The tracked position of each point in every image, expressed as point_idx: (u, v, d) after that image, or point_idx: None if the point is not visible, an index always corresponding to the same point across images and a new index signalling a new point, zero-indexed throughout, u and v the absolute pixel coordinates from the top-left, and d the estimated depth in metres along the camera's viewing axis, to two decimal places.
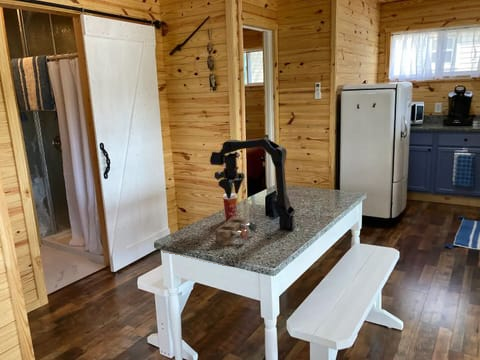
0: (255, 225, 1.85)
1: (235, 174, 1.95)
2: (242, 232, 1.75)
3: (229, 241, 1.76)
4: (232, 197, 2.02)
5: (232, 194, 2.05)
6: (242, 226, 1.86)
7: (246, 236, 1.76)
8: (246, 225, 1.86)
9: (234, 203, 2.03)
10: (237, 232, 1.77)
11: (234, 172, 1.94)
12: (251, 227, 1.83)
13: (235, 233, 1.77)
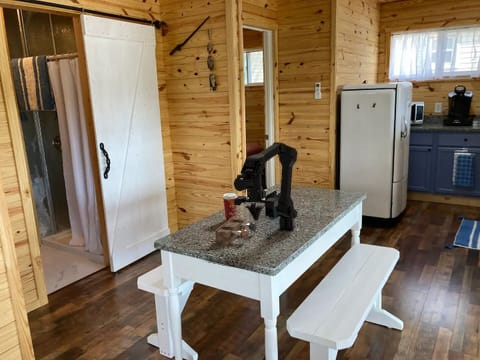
0: (255, 225, 1.85)
1: (250, 196, 1.68)
2: (242, 232, 1.75)
3: (229, 241, 1.76)
4: (232, 197, 2.02)
5: (232, 194, 2.05)
6: (242, 226, 1.86)
7: (246, 236, 1.76)
8: (246, 225, 1.86)
9: None
10: (237, 232, 1.77)
11: (249, 194, 1.68)
12: (251, 227, 1.83)
13: (235, 233, 1.77)
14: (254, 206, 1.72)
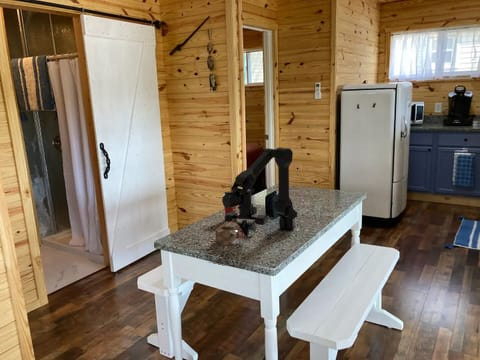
0: (255, 225, 1.85)
1: (241, 213, 1.72)
2: (239, 232, 1.76)
3: (229, 241, 1.76)
4: None
5: None
6: None
7: (243, 236, 1.77)
8: None
9: None
10: (234, 232, 1.78)
11: (240, 210, 1.72)
12: (251, 227, 1.83)
13: (232, 233, 1.78)
14: (245, 222, 1.75)
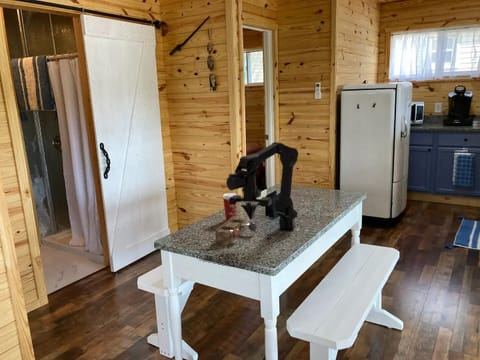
0: (255, 225, 1.85)
1: (245, 196, 1.71)
2: (234, 231, 1.77)
3: (229, 241, 1.76)
4: None
5: (232, 194, 2.05)
6: (242, 226, 1.86)
7: (238, 235, 1.77)
8: (246, 225, 1.86)
9: None
10: None
11: (244, 193, 1.71)
12: (251, 227, 1.83)
13: None
14: (249, 205, 1.75)
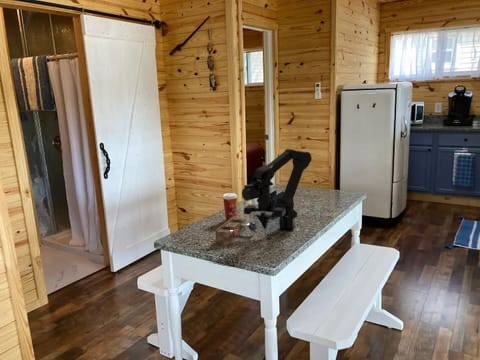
0: (255, 225, 1.85)
1: (260, 206, 1.78)
2: (234, 231, 1.77)
3: (229, 241, 1.76)
4: (232, 197, 2.02)
5: (232, 194, 2.05)
6: (242, 226, 1.86)
7: (238, 235, 1.77)
8: (246, 225, 1.86)
9: (234, 203, 2.03)
10: None
11: (259, 203, 1.78)
12: (251, 227, 1.83)
13: None
14: (263, 215, 1.82)
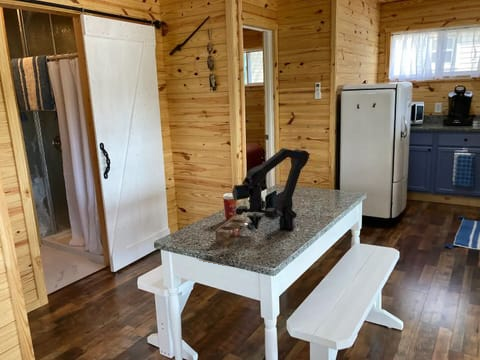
0: (253, 225, 1.85)
1: (251, 207, 1.80)
2: (234, 231, 1.77)
3: (229, 241, 1.76)
4: (232, 197, 2.02)
5: None
6: (240, 226, 1.87)
7: (238, 235, 1.77)
8: (244, 225, 1.86)
9: (234, 203, 2.03)
10: None
11: (250, 204, 1.80)
12: (249, 227, 1.84)
13: None
14: (255, 215, 1.84)
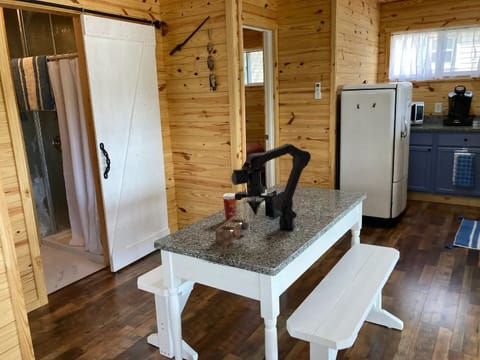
0: (247, 224, 1.86)
1: (250, 192, 1.78)
2: (234, 231, 1.77)
3: (229, 241, 1.76)
4: (232, 197, 2.02)
5: (232, 194, 2.05)
6: None
7: (238, 235, 1.77)
8: None
9: (234, 203, 2.03)
10: None
11: (249, 189, 1.79)
12: (243, 226, 1.85)
13: None
14: (254, 201, 1.82)
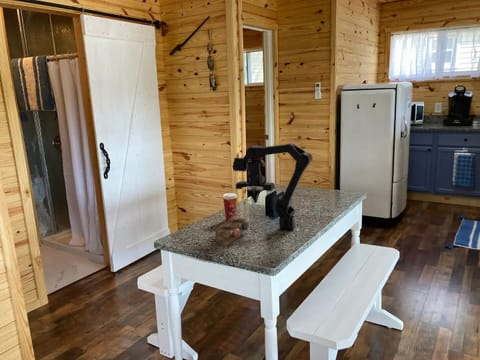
0: (247, 224, 1.86)
1: (250, 181, 1.91)
2: (234, 231, 1.77)
3: (229, 241, 1.76)
4: (232, 197, 2.02)
5: (232, 194, 2.05)
6: None
7: (238, 235, 1.77)
8: None
9: (234, 203, 2.03)
10: None
11: (249, 178, 1.91)
12: (243, 226, 1.85)
13: None
14: (254, 190, 1.95)
